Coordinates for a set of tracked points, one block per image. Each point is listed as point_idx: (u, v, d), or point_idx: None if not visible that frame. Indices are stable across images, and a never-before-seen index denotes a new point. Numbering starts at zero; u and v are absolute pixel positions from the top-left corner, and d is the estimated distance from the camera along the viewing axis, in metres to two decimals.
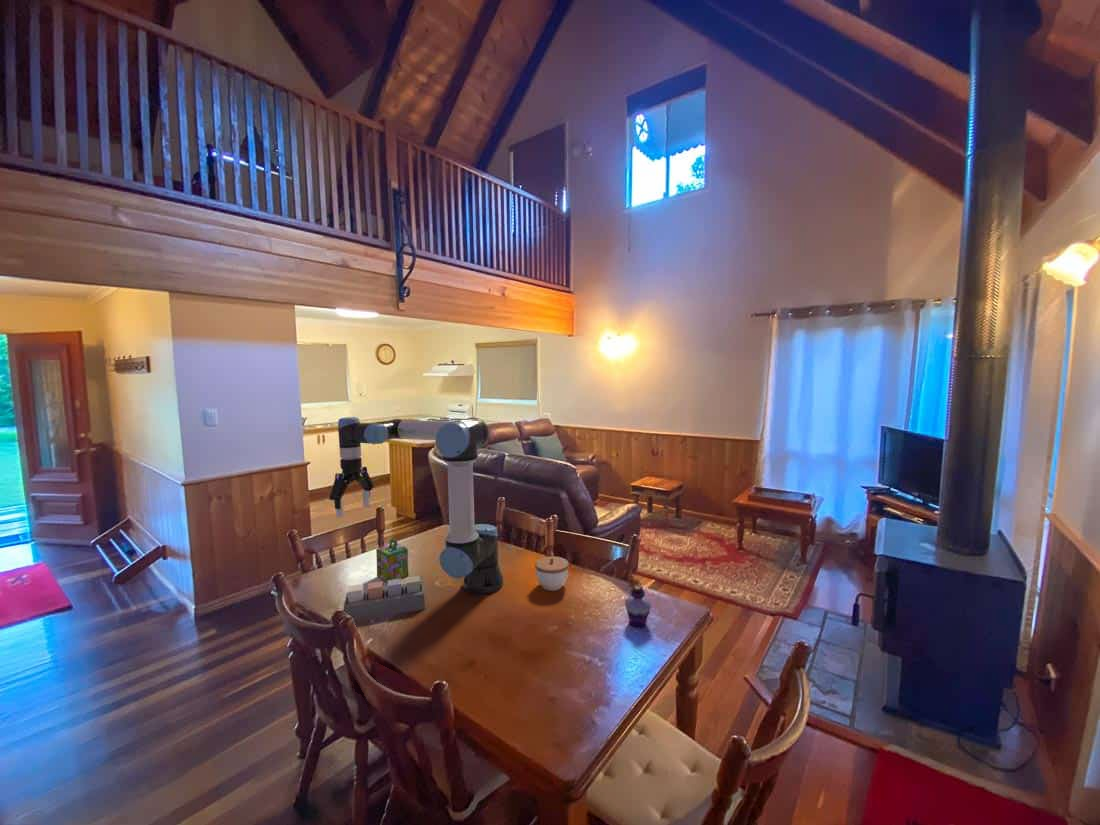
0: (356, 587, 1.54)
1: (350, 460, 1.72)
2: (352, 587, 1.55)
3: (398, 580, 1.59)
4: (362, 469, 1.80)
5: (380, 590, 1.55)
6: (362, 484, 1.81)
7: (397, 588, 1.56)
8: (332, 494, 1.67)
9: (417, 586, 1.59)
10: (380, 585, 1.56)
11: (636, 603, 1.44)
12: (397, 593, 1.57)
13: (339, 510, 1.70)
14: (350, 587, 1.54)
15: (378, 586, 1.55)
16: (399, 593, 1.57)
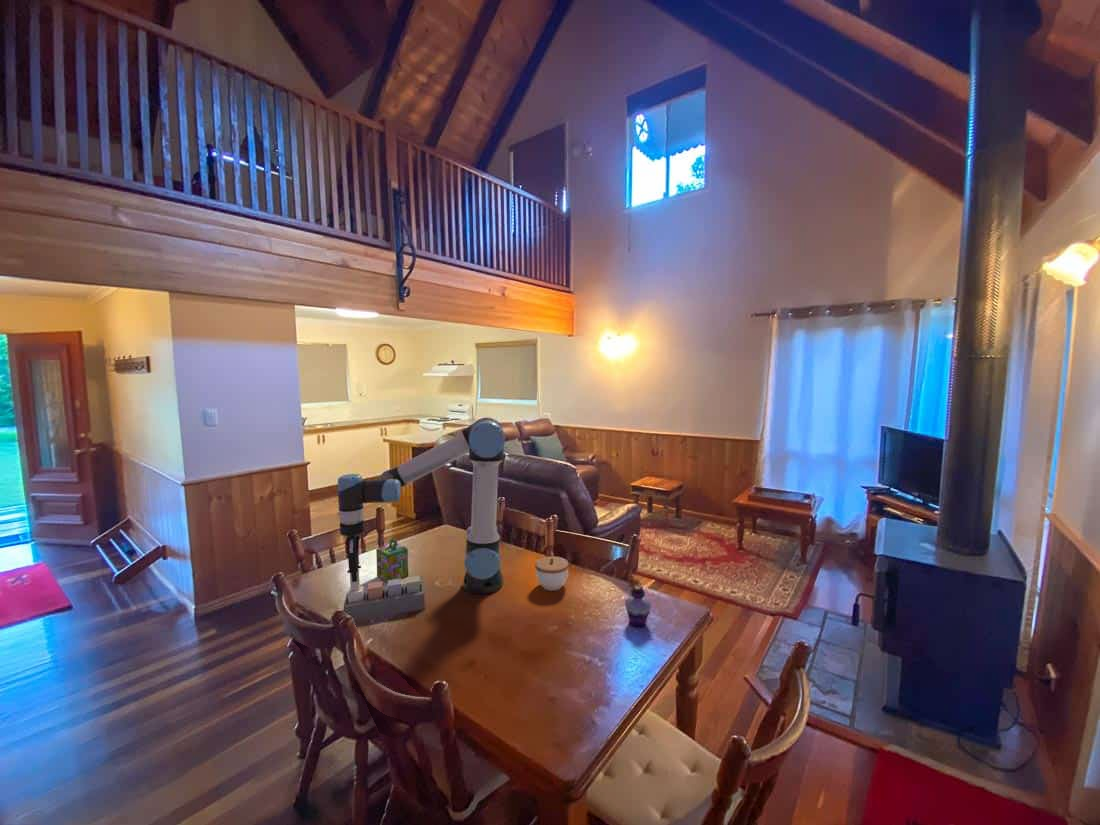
0: None
1: (358, 524, 1.50)
2: None
3: (398, 580, 1.59)
4: None
5: (380, 590, 1.55)
6: None
7: (397, 588, 1.56)
8: (352, 568, 1.50)
9: (417, 586, 1.59)
10: (380, 585, 1.56)
11: (636, 603, 1.44)
12: (397, 593, 1.57)
13: (355, 582, 1.53)
14: (350, 589, 1.54)
15: (378, 586, 1.55)
16: (399, 593, 1.57)
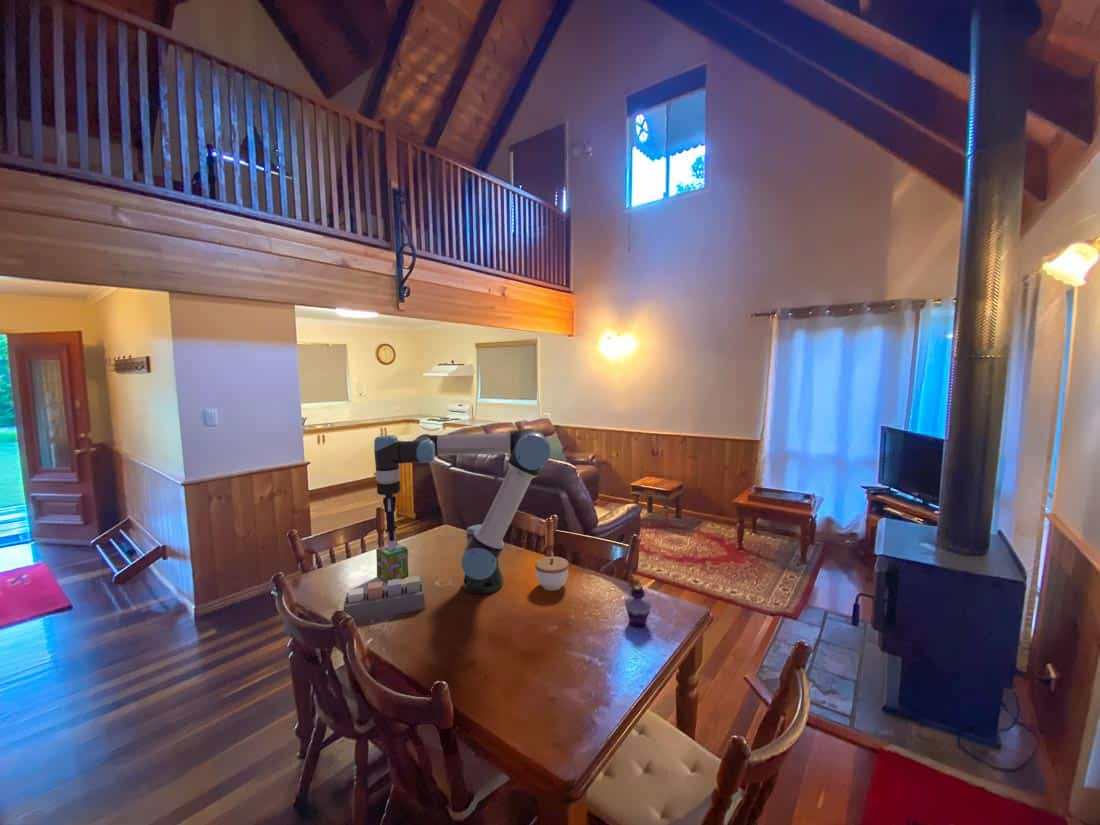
0: (357, 591, 1.54)
1: (395, 484, 1.53)
2: (352, 591, 1.55)
3: (398, 580, 1.59)
4: None
5: (380, 590, 1.55)
6: None
7: (397, 588, 1.56)
8: (389, 527, 1.52)
9: (417, 586, 1.59)
10: (380, 585, 1.56)
11: (636, 603, 1.44)
12: (397, 593, 1.57)
13: (392, 541, 1.56)
14: (350, 591, 1.54)
15: (378, 586, 1.55)
16: (399, 593, 1.57)
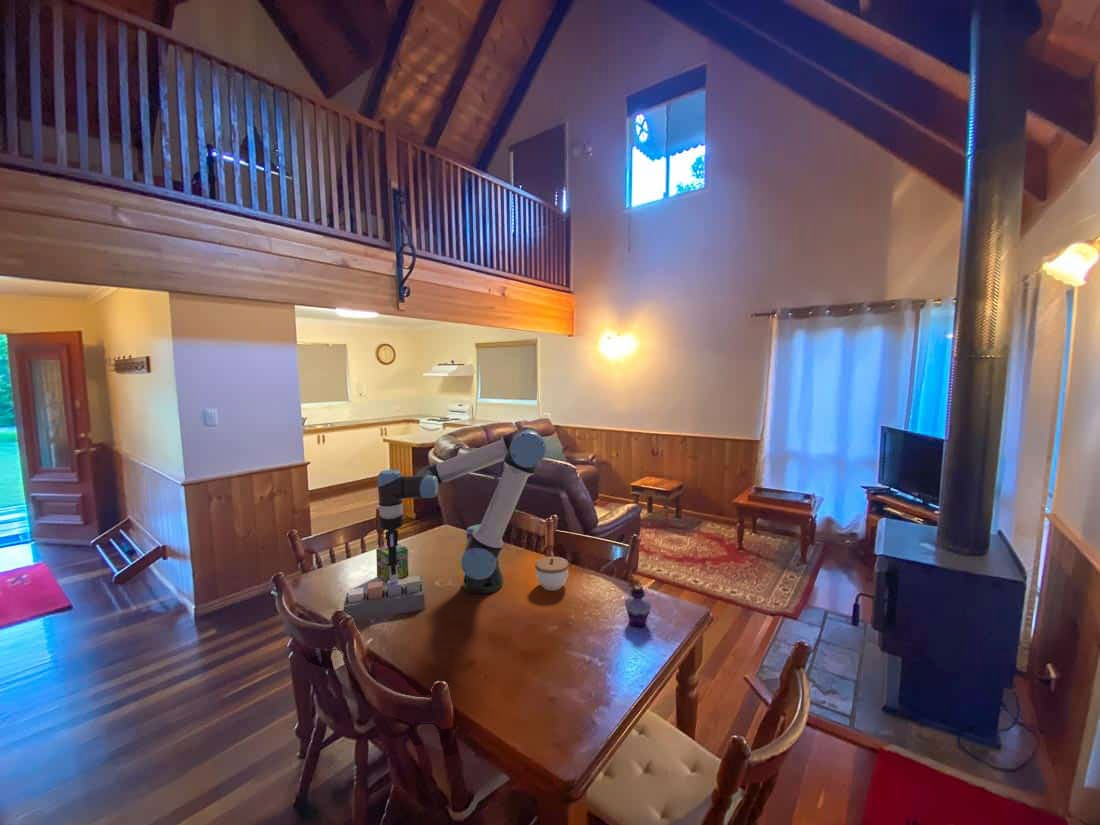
0: (357, 591, 1.54)
1: (398, 518, 1.54)
2: (352, 591, 1.55)
3: (398, 581, 1.59)
4: None
5: (380, 590, 1.55)
6: None
7: (398, 588, 1.56)
8: (391, 561, 1.53)
9: (417, 586, 1.59)
10: (380, 585, 1.56)
11: (636, 603, 1.44)
12: (397, 594, 1.57)
13: (394, 575, 1.57)
14: (350, 591, 1.54)
15: (378, 586, 1.55)
16: (399, 594, 1.57)
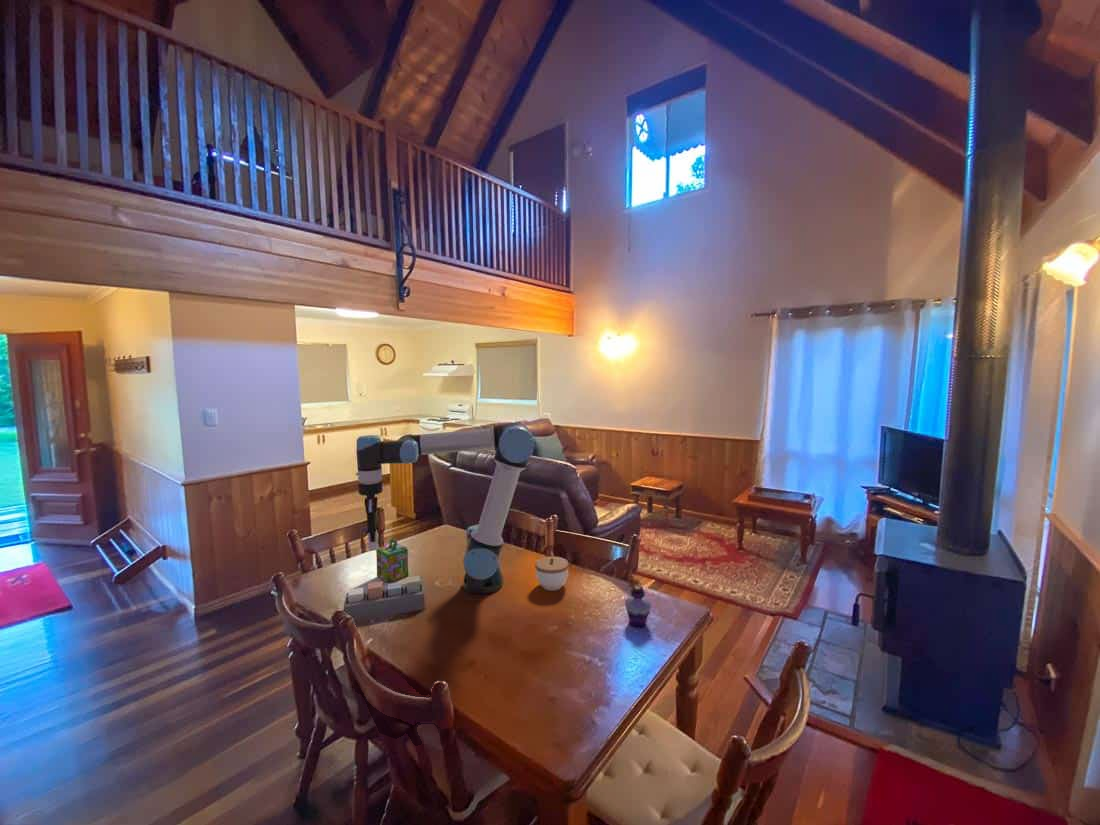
0: (357, 591, 1.54)
1: (377, 484, 1.51)
2: (352, 591, 1.55)
3: (398, 584, 1.59)
4: None
5: (380, 590, 1.55)
6: None
7: (398, 591, 1.57)
8: (370, 528, 1.50)
9: (417, 586, 1.59)
10: (380, 585, 1.56)
11: (636, 603, 1.44)
12: None
13: (373, 543, 1.54)
14: (350, 591, 1.54)
15: (378, 586, 1.55)
16: None
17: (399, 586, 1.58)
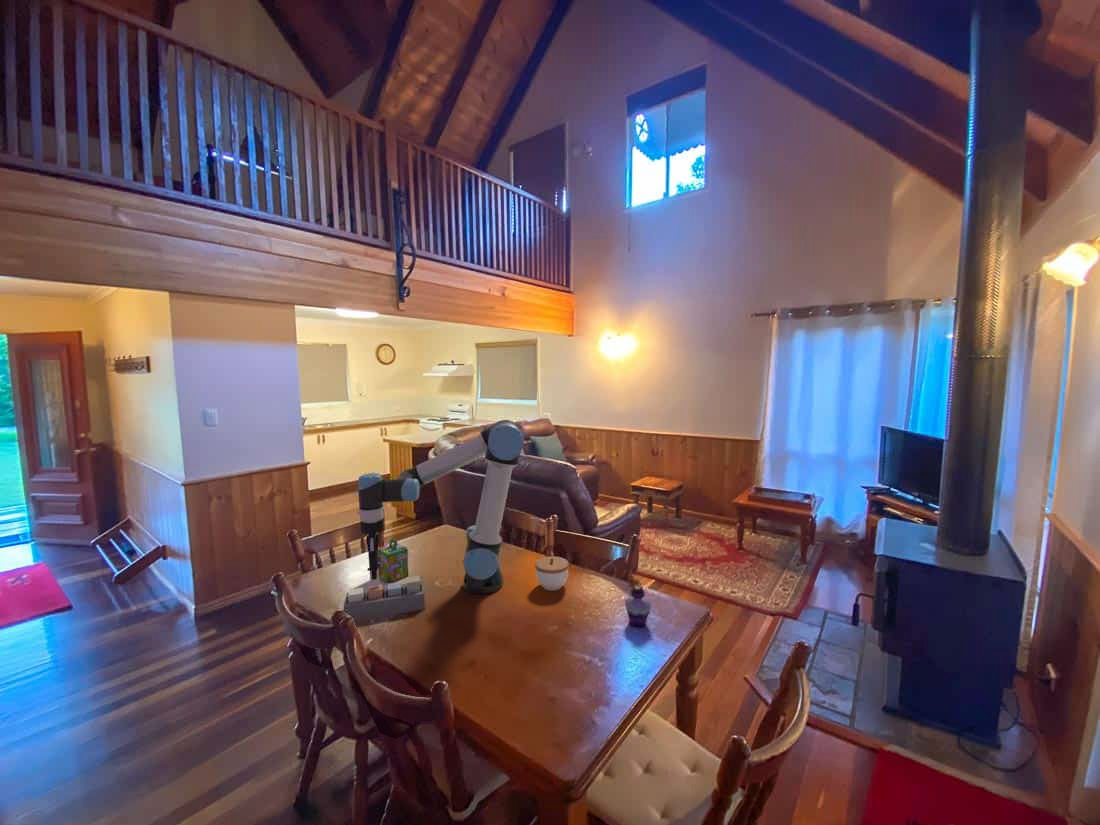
0: (357, 591, 1.54)
1: (378, 523, 1.52)
2: (352, 591, 1.55)
3: (398, 584, 1.59)
4: None
5: (380, 592, 1.55)
6: None
7: (398, 591, 1.57)
8: (372, 566, 1.52)
9: (417, 586, 1.59)
10: (380, 587, 1.56)
11: (636, 603, 1.44)
12: None
13: (375, 580, 1.55)
14: (350, 591, 1.54)
15: (379, 588, 1.55)
16: None
17: (399, 586, 1.58)
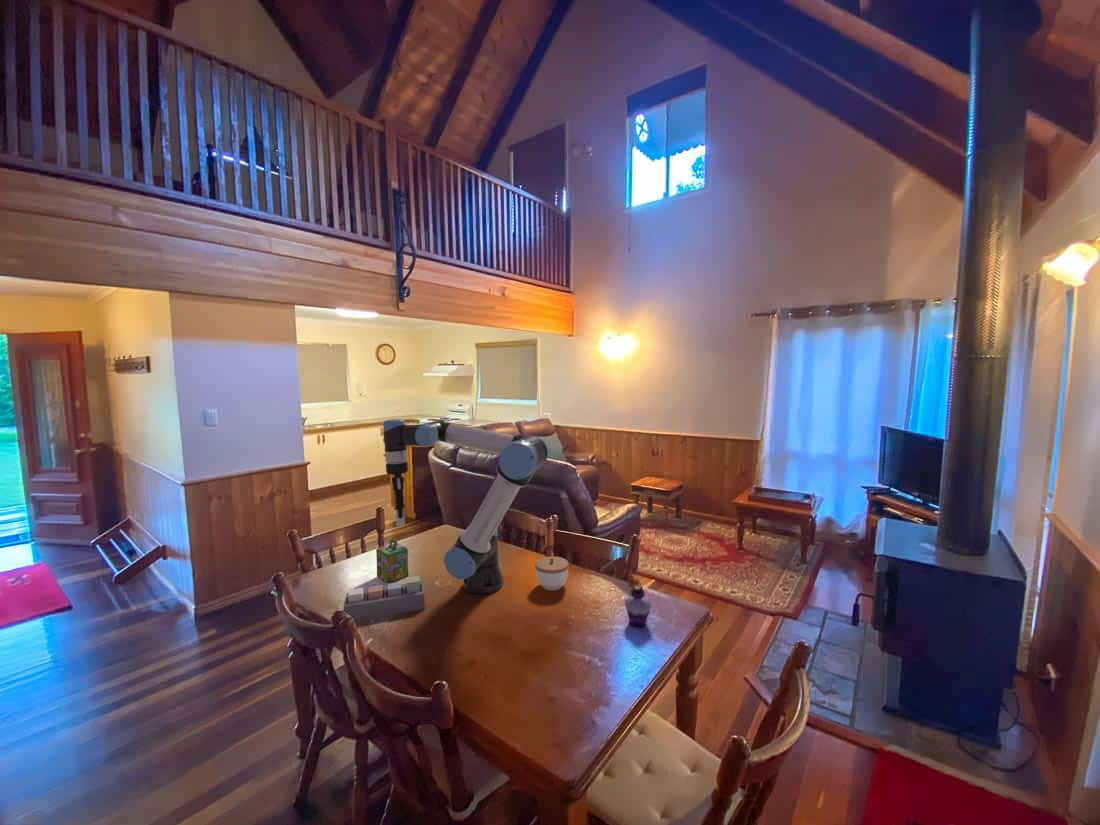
0: (357, 591, 1.54)
1: (404, 464, 1.63)
2: (352, 591, 1.55)
3: (398, 584, 1.59)
4: None
5: (380, 594, 1.55)
6: None
7: (398, 591, 1.57)
8: (399, 504, 1.62)
9: (417, 586, 1.59)
10: (380, 589, 1.56)
11: (636, 603, 1.44)
12: None
13: (401, 519, 1.66)
14: (350, 591, 1.54)
15: (379, 589, 1.55)
16: None
17: (399, 586, 1.58)
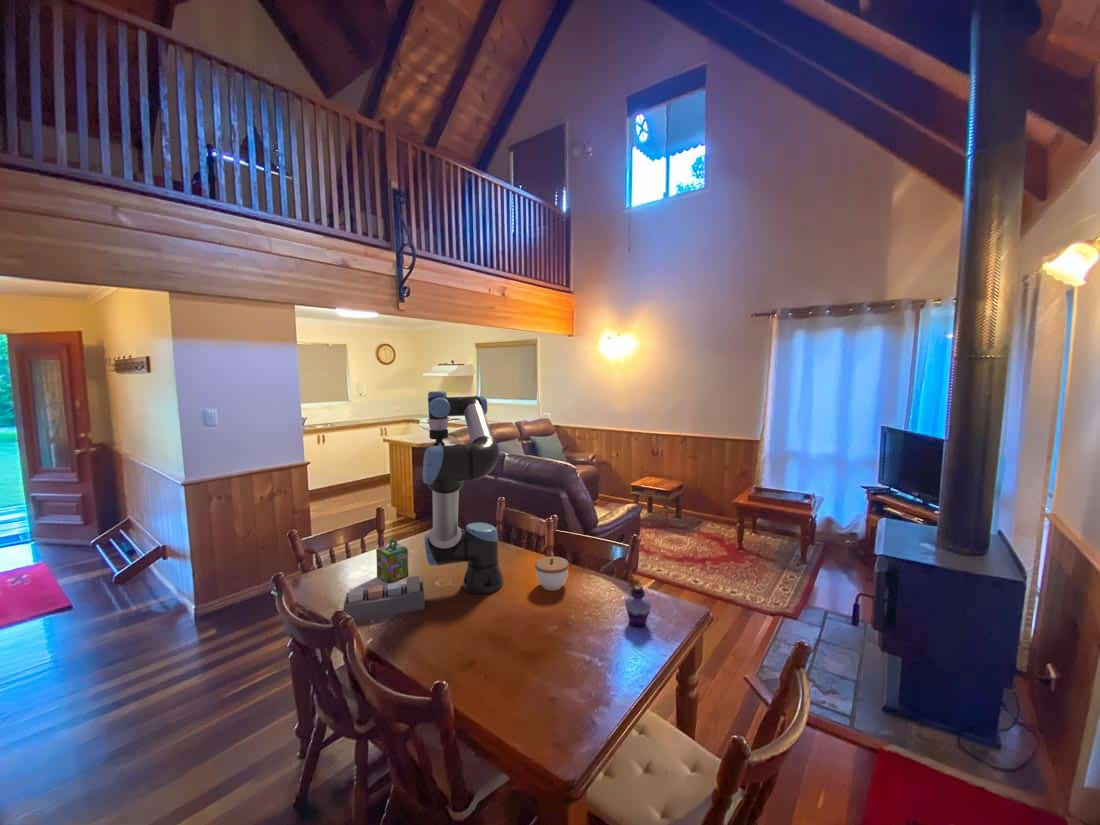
0: (357, 591, 1.54)
1: (445, 430, 1.86)
2: (352, 591, 1.55)
3: (398, 584, 1.59)
4: None
5: (380, 594, 1.55)
6: None
7: (398, 591, 1.57)
8: None
9: (417, 586, 1.59)
10: (380, 589, 1.56)
11: (636, 603, 1.44)
12: None
13: None
14: (350, 591, 1.54)
15: (379, 589, 1.55)
16: None
17: (399, 586, 1.58)
